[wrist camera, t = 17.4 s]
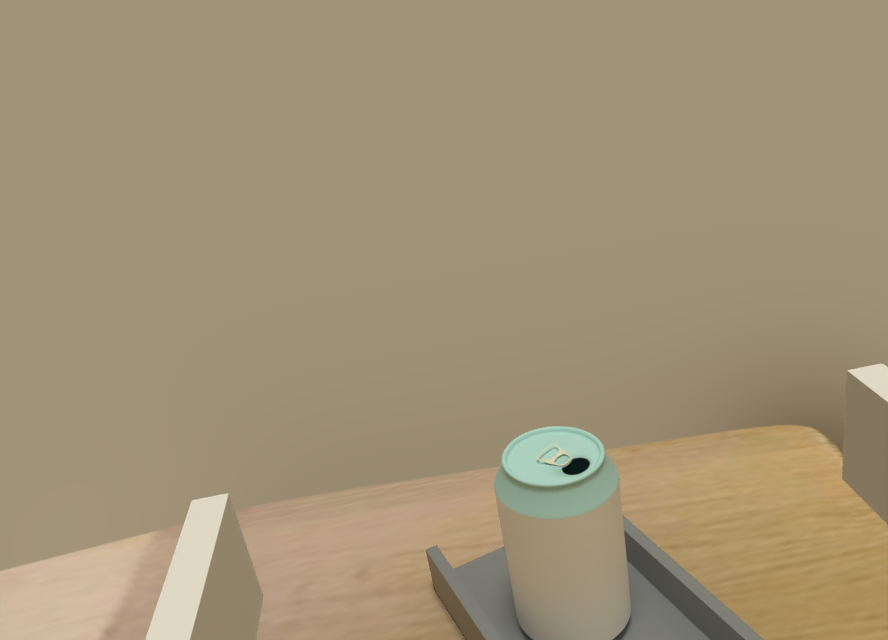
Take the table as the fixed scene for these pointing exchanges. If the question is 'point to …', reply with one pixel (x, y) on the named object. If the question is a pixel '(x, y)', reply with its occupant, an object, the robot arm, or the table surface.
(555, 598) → the can
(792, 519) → the table surface
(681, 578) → the duct channel
